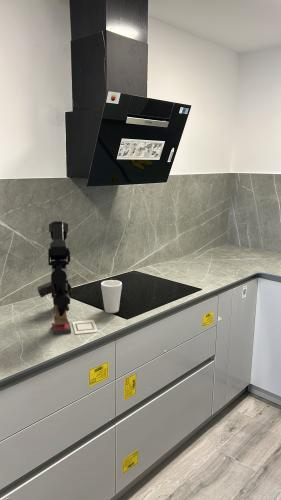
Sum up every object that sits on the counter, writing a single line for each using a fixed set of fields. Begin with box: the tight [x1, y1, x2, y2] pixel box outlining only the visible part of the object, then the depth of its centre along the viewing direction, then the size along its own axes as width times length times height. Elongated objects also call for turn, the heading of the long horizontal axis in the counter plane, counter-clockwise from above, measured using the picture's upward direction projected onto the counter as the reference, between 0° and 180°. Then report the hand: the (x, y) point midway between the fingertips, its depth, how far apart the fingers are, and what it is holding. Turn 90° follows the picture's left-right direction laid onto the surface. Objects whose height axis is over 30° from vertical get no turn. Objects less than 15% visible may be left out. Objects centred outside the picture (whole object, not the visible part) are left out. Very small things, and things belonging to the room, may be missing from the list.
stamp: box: [53, 305, 69, 325], centre depth 157 cm, size 5×5×8 cm
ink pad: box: [51, 321, 72, 336], centre depth 159 cm, size 8×7×2 cm
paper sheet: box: [71, 319, 99, 336], centre depth 161 cm, size 12×9×1 cm
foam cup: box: [100, 279, 123, 314], centre depth 178 cm, size 10×9×13 cm
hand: (60, 313), depth 157 cm, fingers closed on stamp, 4 cm apart
